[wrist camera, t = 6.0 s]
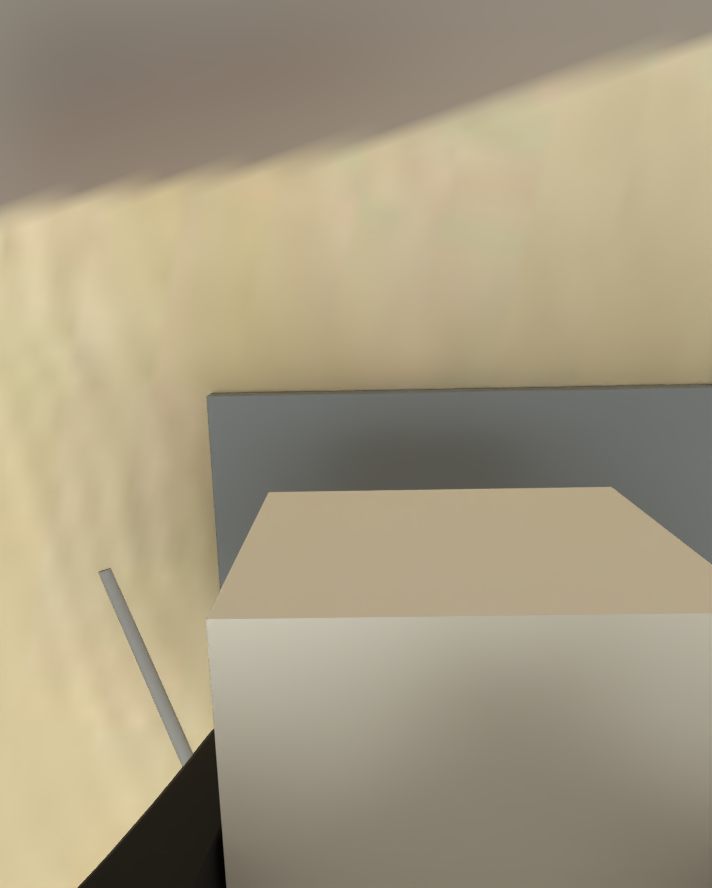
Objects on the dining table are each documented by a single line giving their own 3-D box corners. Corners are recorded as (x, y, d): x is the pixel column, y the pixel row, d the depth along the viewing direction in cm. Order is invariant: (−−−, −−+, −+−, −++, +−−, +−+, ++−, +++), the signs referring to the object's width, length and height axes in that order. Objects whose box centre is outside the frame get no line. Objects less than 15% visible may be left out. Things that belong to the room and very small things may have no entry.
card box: (582, 922, 10) (692, 1241, 7) (291, 924, 10) (253, 1240, 7) (611, 486, 9) (774, 612, 5) (269, 491, 9) (206, 618, 5)
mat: (1013, 378, 15) (1035, 381, 14) (949, 697, 16) (967, 710, 16) (211, 393, 15) (206, 396, 14) (233, 704, 17) (229, 716, 16)
